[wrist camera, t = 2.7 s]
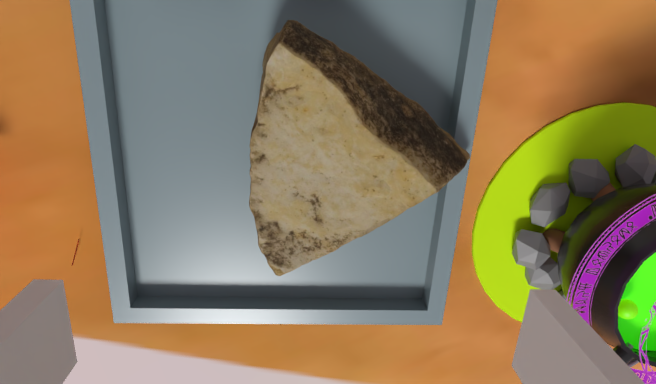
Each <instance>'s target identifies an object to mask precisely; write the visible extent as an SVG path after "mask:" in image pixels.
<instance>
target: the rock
mask: <svg viewBox="0 0 656 384" xmlns="http://www.w3.org/2000/svg"><path fill="white" fill-rule="evenodd" d="M262 66H263V74H262V78H261V85H260V94H259V102H258V108H257V114H256V118H255V121H254V125H253V128H252V131H251V138H250V164H251V167H250V177H251V184H250V197H249V207H250V210H251V212H252V214H253V216H254V219H255V224H256V230H257V235H258V246H259V248H260V250H261V252H262V253H263V254H264V255H265V257H266V259H267V263H268V265H269V266H270V268H271V269H272V270H273V271H274V273H275V275H277V276H281V275H284V274H286V273H288V272H291V271H293V270H295V269H297V268H299V267H300V266H302V265H304V264H307V263H309V262H311V261H312V260H316V259H318V258H320V257H322V256H325V255H327V254H329V253H331V252H334V251H335V250H337V249H338V248H339V247H341V246H343V245H345V244H347V243H349V242H350V241H352V240H354V239H356V238H359V237H362V236H364V235H366V234H368V233H370V232H371V231H373V230H375V229H376V228H378V227H380V226H382V225H384V224H385V223H387V222H388V221H390V220H392V219H394V218H395V217H397V216H398V215H400V214H402V213H403V212H404V211H406V210H407V209H409V208H411V207H413V206H415V205H417V204H418V203H420V202H422V201H424V200H425V199H426V198H428V197H430V196H431V195H433V194H435V193H437V192H439V191H440V190H441V189H442V187H444V186H445V185H446V184H447V183H448V182H449V181H450V180H452V179H453V177H454V176H456V175H457V174H459V173H460V172H461V170H462V169H463V168H464V167H465V165H466V163H467V160H469V159H470V154H469V153H468V152H467V151H466V150H464V149H463V148H461V147H460V146H459V145H458V144H457V143H456V141H455V140H454V138H453V137H452V136H451V135H450V134H449V133H447V132H446V131H444V130H443V129H441V128H440V127H439V126H438V125H437V124H436V123H435V121H434V120H433V119H432V117H431V116H430V115H429V114H428V113H427V112H426V111H425V110H424V108H423V107H422V106H421V105H419V104H418V103H417V102H416V101H414V100H411V99H409V98H407V97H406V96H405V95H403V94H402V93H401V92H399V91H397V90H395V89H394V88H393V87H392V86H391V85H390V84H389V83H388V82H387V81H386V80H385V79H383V78H381V77H379V76H378V75H377V74H375V73H374V72H373V71H372V70H371V69H369V68H368V67H367V66H366V65H365V64H364V63H362V62H361V61H359V60H358V59H357V58H356V57H355V56H353V55H351V54H349V53H347V52H345V51H343V50H342V49H340V48H339V47H338V46H337V45H336V44H334V43H333V42H332V41H329V40H327V39H325V38H323V37H321V36H319V35H317V34H316V33H314V32H312V31H310V30H309V29H308V28H306V27H305V26H304V25H302V24H301V23H300V22H298V21H295V20H287V22H286V23H285V25H284V26H283V28H282V30H281V31H280V32H279V33H276V35H275V36H274V37H273V38H272V40H271V41H270V42H269V43H268V45H267V48H266V51H265V54H264V58H263V64H262Z"/></svg>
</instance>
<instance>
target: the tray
mask: <svg viewBox="0 0 656 384" xmlns="http://www.w3.org/2000/svg"><path fill="white" fill-rule="evenodd" d="M70 6H71V13H72V21H73V28H74V35H75V43H76V50H77V57H78V64H79V72H80V79H81V86H82V94H83V101H84V108H85V116H86V123H87V130H88V137H89V145H90V152H91V159H92V167H93V174H94V181H95V188H96V196H97V203H98V210H99V218H100V225H101V232H102V239H103V247H104V254H105V261H106V269H107V276H108V283H109V290H110V298H111V305H112V312H113V320H114V323H213V324H384V325H442V320H443V314H444V308H445V303H446V297H447V291H448V285H449V279H450V274H451V268H452V262H453V256H454V250H455V244H456V239H457V233H458V227H459V221H460V215H461V210H462V204H463V198H464V192H465V186H466V180H467V175H468V169H469V163H470V159H469V160H467V163H466V165H465V167H464V168H463V169H462V170H461V172H460V173H459V174H457V175H456V176H454V177H453V179H452V180H450V181H449V182H448V183H447V184H446V185H445V186H444V187H442V189H441V190H440V191H439V192H437V193H435V194H433V195H431V196H430V197H428V198H426V199H425V200H424V201H422V202H420V203H418V204H417V205H415V206H413V207H411V208H409V209H407V210H406V211H404V212H403V213H402V214H400V215H398V216H397V217H395V218H394V219H392V220H390V221H388V222H387V223H385V224H384V225H382V226H380V227H378V228H376V229H375V230H373V231H371V232H370V233H368V234H366V235H364V236H362V237H359V238H356V239H354V240H352V241H350V242H349V243H347V244H345V245H343V246H341V247H339V248H338V249H337V250H335V251H334V252H331V253H329V254H327V255H325V256H322V257H320V258H318V259H316V260H312V261H311V262H309V263H307V264H304V265H302V266H300V267H299V268H297V269H295V270H293V271H291V272H288V273H286V274H284V275H281V276H277V275H275V273H274V271H273V270H272V269H271V268H270V266H269V265H268V263H267V259H266V257H265V255H264V254H263V253H262V252H261V250H260V248H259V246H258V235H257V230H256V224H255V219H254V216H253V214H252V212H251V210H250V207H249V197H250V184H251V177H250V167H251V164H250V138H251V131H252V128H253V125H254V121H255V118H256V114H257V108H258V102H259V94H260V85H261V78H262V74H263V66H262V64H263V58H264V54H265V51H266V48H267V45H268V43H269V42H270V41H271V40H272V38H273V37H274V36H275V35H276V33H279V32H280V31H281V30H282V28H283V26H284V25H285V23H286V22H287V20H295V21H298V22H300V23H301V24H302V25H304V26H305V27H306V28H308V29H309V30H310V31H312V32H314V33H316V34H317V35H319V36H321V37H323V38H325V39H327V40H329V41H332V42H333V43H334V44H336V45H337V46H338V47H339V48H340V49H342V50H343V51H345V52H347V53H349V54H351V55H353V56H355V57H356V58H357V59H358V60H359V61H361V62H362V63H364V64H365V65H366V66H367V67H368V68H369V69H371V70H372V71H373V72H374V73H375V74H377V75H378V76H379V77H381V78H383V79H385V80H386V81H387V82H388V83H389V84H390V85H391V86H392V87H393V88H394V89H395V90H397V91H399V92H401V93H402V94H403V95H405V96H406V97H407V98H409V99H411V100H414V101H416V102H417V103H418V104H419V105H421V106H422V107H423V108H424V110H425V111H426V112H427V113H428V114H429V115H430V116H431V117H432V119H433V120H434V121H435V123H436V124H437V125H438V126H439V127H440V128H441V129H443V130H444V131H446V132H447V133H449V134H450V135H451V136H452V137H453V138H454V140H455V141H456V143H457V144H458V145H459V146H460V147H461V148H463V149H464V150H466V151H467V152H468V153H469V154H470V157H471V151H472V145H473V140H474V134H475V128H476V122H477V116H478V111H479V105H480V99H481V93H482V87H483V81H484V76H485V70H486V64H487V58H488V52H489V47H490V41H491V35H492V29H493V23H494V17H495V12H496V6H497V0H70Z"/></svg>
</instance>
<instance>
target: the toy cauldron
mask: <svg viewBox="0 0 656 384" xmlns="http://www.w3.org/2000/svg"><path fill="white" fill-rule="evenodd" d="M472 256H473V261H474V266H475V271H476V274H477V276H478V278H479V280H480V282H481V285H482V287H483V289H484V291H485V292H486V293H487V294H488V296H489V297H490V298H491V299H492V301H493V302H494V303H495V304H496V305H497V306H498V307H499V308H500V309H502V310H503V311H504V312H506V313H507V314H508V315H509V316H511V317H512V318H514V319H516V320H518V321H520V322H522V321H523V317H524V313H525V308H526V304H527V300H528V296H529V292H530V289H542V290H556V291H557V292H558V293H559V294H560V295H561V296H562V297H563V298H564V299H565V300H566V301H567V302H568V303H569V304H570V305H571V307H572V308H573V309H574V310H575V311H576V312H577V313H578V314H579V315H580V316H581V317H582V318H583V319H584V320H585V321H586V322H587V323H588V324H589V325H590V326H591V327H592V329H593V330H594V331H595V332H596V333H597V334H598V335H599V336H600V337H601V338H602V339H603V340H604V341H605V342H606V343H607V344H609V345H611V346H613V347H615V348H614V349H613V351H614V352H615V353H616V354H617V355H618V356H619V357H620V358H621V359H622V360H623V361H624V362H625V363H626V364H627V365H628V366H629V367H632V366H634V365H635V364H637V363H638V362H640V363H641V365H642V368H643V370H644V371H641V370H635V369H632V368H631V369H632V370H633V371H634V373H637V372H638V373H640V376H639V374H638V373H637V376H639V378H641V376H642V375H643V374H642V373H644V374H645V376H644V375H643V376H644V378H643V376H642V378H643V379H644V380H642V381H643V382H644V383H645V384H656V372H653V370H652V369H651V370H652V372H650V371H647V365H649V366H650V365H651V366H655V367H656V107H654V106H651V105H645V104H635V103H624V102H623V103H614V104H605V105H596V106H593V107H590V108H587V109H583V110H580V111H577V112H573V113H570V114H568V115H566V116H564V117H562V118H560V119H558V120H557V121H555V122H553V123H551V124H549V125H547V126H545V127H543V128H542V129H541V130H539V131H538V132H537V133H535V134H534V135H533V136H531V137H530V138H529V139H527V140H526V141H525V142H523V143H522V144H521V145H520V146H519V147H518V148H517V149H516V150H515V151H514V152H513V153H512V154H511V155H510V156H509V157H508V158H507V159H506V160H505V162H504V163H503V164H502V165H501V167H500V168H499V170H498V171H497V173H496V174H495V175H494V177H493V178H492V180H491V181H490V183H489V184H488V186H487V188H486V190H485V193H484V195H483V197H482V199H481V202H480V204H479V206H478V209H477V213H476V217H475V221H474V226H473V230H472ZM643 363H644V364H646V365H645V369H644V366H643ZM650 368H651V367H650ZM653 374H654V375H653ZM649 376H651V379H650V378H649ZM642 378H641V379H642ZM648 378H649V379H648ZM647 380H648V382H649V381H650V382H649V383H647Z"/></svg>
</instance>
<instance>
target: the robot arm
mask: <svg viewBox="0 0 656 384" xmlns="http://www.w3.org/2000/svg"><path fill="white" fill-rule="evenodd" d="M76 363H77V359H76V352H75V347H74V341H73V335H72V329H71V324H70V318H69V312H68V306H67V301H66V295H65V289H64V283H63V280H36V279H34V280H33V281H31V282H30V283H29V284H28V285H27V286H26V287H25V288H24V289H23V290H22V291H21V292H20V293H19V294H18V295H16V296H15V297H14V298H13V299H12V300H11V301H10V302H9V303H8V304H7V305H6V306H5V307H4V308H2V309H1V310H0V384H62V383H63V381H64V380H65V379H66V377H67V376H68V374H69V373H70V372H71V370H72V369H73V367H74V366H75V364H76ZM512 367H513V368H514V370H515V372H516V373H517V375H518V377H519V378H520V380H521V382H522V383H523V384H645V383H644V382H643V381H642V380H641V379H640V378H639V377H638V376H637V375H636V374H635V373H634V371H633V370H632V369H631V368H630V367H629V366H628V365H627V364H626V363H625V362H624V361H623V360H622V359H621V358H620V357H619V356H618V355H617V354H616V353H615V352H614V351H613V349H612V348H611V347H610V346H609V345H608V344H607V343H606V342H605V341H604V340H603V339H602V338H601V337H600V336H599V335H598V334H597V333H596V332H595V331H594V330H593V329H592V327H591V326H590V325H589V324H588V323H587V322H586V321H585V320H584V319H583V318H582V317H581V316H580V315H579V314H578V313H577V312H576V311H575V310H574V309H573V308H572V307H571V305H570V304H569V303H568V302H567V301H566V300H565V299H564V298H563V297H562V296H561V295H560V294H559V293H558V292H557V291H556V290H542V289H530V292H529V296H528V300H527V304H526V308H525V313H524V317H523V321H522V325H521V329H520V333H519V337H518V341H517V346H516V350H515V354H514V358H513V362H512Z"/></svg>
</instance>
